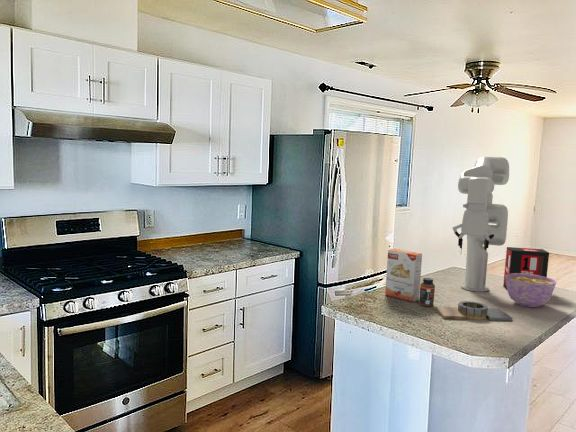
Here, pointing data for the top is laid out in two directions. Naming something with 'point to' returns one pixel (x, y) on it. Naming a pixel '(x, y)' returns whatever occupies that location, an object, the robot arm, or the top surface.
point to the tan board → (457, 313)
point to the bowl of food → (529, 289)
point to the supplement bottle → (427, 292)
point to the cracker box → (403, 274)
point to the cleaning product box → (526, 262)
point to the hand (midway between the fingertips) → (472, 248)
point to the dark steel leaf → (483, 311)
